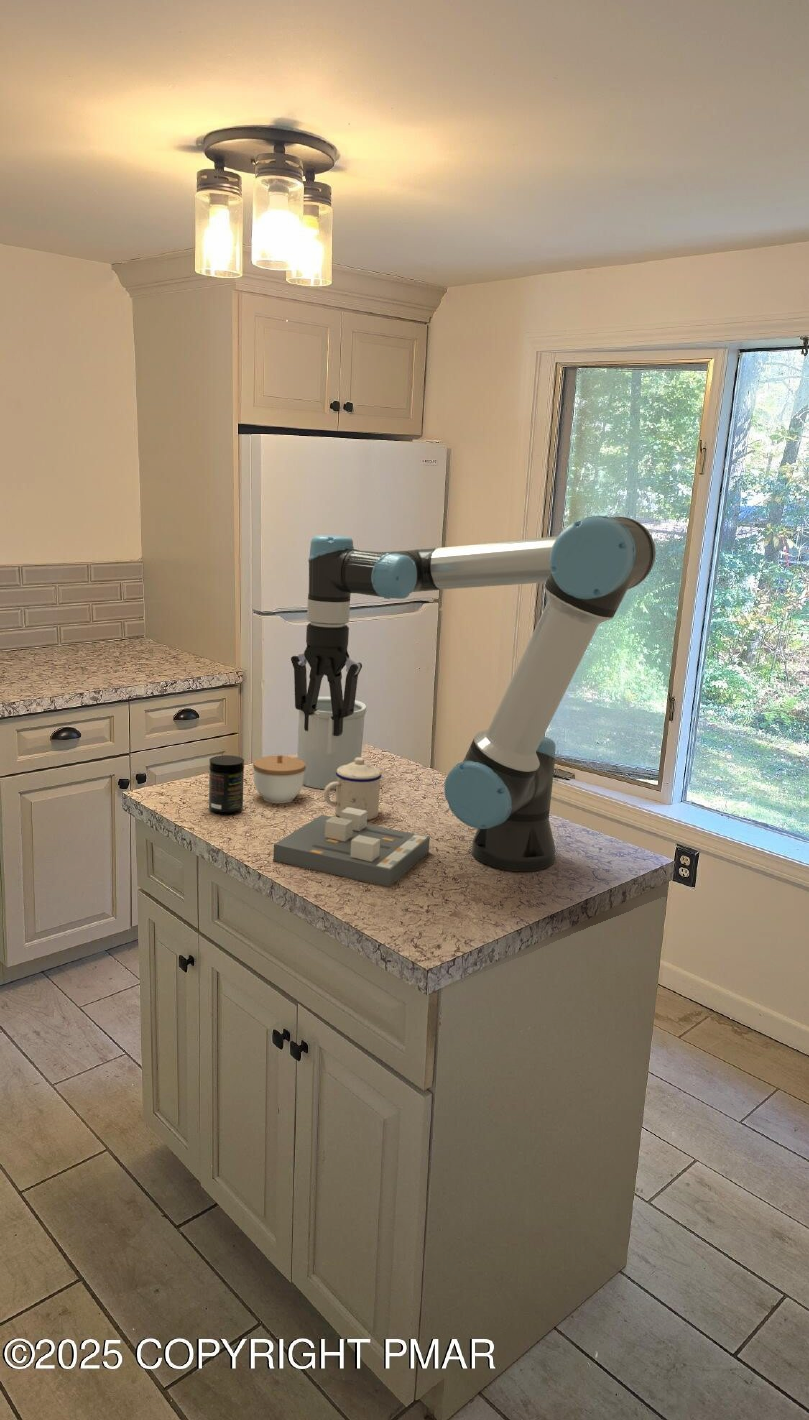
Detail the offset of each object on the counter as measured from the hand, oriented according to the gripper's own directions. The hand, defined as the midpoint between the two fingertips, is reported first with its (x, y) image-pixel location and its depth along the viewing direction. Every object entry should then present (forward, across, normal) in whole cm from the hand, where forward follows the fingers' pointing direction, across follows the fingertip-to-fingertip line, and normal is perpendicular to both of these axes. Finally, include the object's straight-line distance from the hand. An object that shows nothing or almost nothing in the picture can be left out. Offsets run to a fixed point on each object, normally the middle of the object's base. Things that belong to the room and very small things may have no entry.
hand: (322, 750), depth 179 cm
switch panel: (+17, -10, +6) cm, 20 cm away
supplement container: (+17, +22, -2) cm, 28 cm away
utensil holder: (+17, +14, -32) cm, 38 cm away
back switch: (+13, -7, 0) cm, 15 cm away
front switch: (+13, -15, +12) cm, 23 cm away
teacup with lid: (+17, 0, -14) cm, 22 cm away
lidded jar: (+17, +17, -14) cm, 28 cm away
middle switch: (+13, -7, +6) cm, 16 cm away
